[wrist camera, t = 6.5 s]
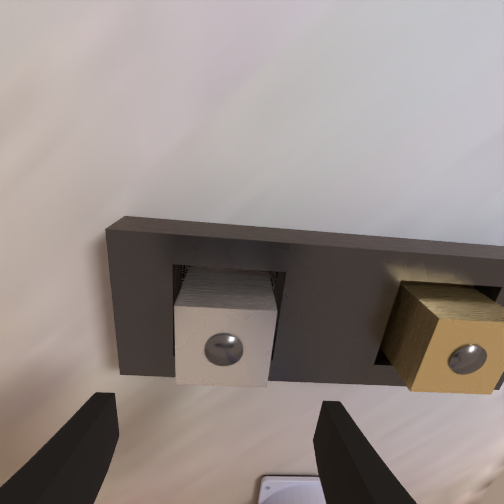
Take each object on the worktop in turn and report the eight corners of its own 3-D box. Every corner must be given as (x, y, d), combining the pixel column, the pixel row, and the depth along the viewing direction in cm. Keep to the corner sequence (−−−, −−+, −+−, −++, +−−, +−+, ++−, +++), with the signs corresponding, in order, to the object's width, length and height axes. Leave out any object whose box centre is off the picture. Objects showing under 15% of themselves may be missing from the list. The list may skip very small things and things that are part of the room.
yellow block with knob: (431, 333, 20) (492, 395, 15) (368, 330, 19) (411, 392, 15) (454, 276, 18) (531, 325, 13) (386, 271, 18) (441, 320, 13)
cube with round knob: (260, 325, 19) (267, 388, 14) (192, 322, 18) (175, 386, 14) (267, 264, 17) (277, 312, 12) (192, 259, 17) (173, 307, 12)
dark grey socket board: (470, 362, 21) (498, 389, 18) (134, 346, 19) (120, 374, 17) (526, 248, 17) (569, 264, 15) (124, 216, 16) (105, 228, 13)
